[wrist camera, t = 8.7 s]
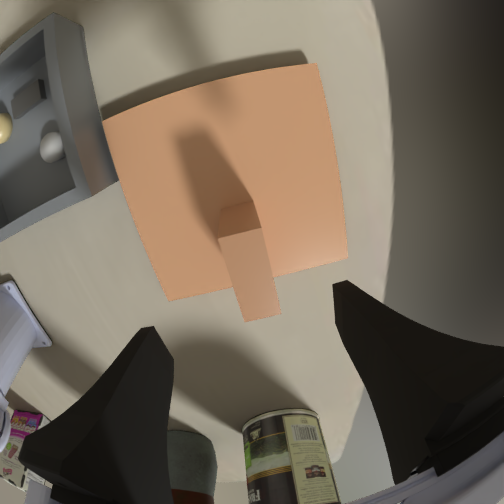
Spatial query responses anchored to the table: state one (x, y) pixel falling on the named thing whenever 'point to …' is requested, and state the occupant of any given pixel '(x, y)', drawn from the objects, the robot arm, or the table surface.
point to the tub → (49, 126)
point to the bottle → (191, 467)
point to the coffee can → (288, 459)
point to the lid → (233, 184)
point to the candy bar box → (7, 460)
